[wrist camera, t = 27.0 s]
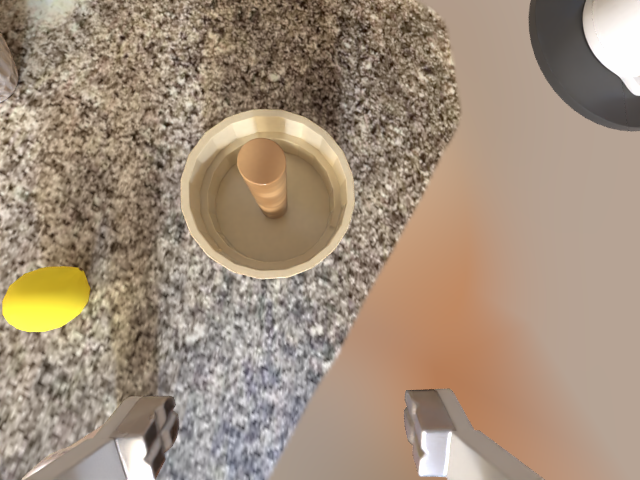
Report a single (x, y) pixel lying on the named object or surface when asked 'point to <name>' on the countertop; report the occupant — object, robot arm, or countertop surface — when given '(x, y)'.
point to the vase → (7, 71)
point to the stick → (265, 175)
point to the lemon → (46, 298)
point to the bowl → (242, 209)
